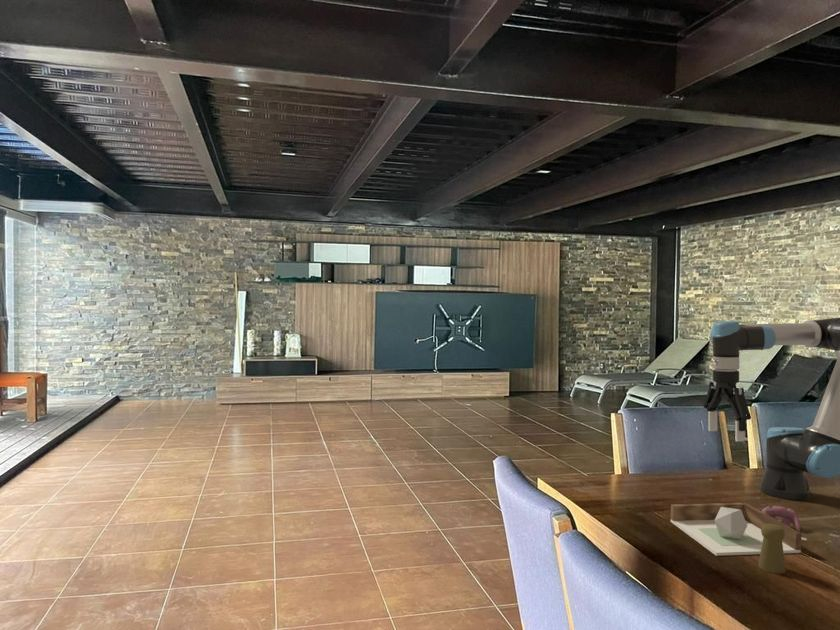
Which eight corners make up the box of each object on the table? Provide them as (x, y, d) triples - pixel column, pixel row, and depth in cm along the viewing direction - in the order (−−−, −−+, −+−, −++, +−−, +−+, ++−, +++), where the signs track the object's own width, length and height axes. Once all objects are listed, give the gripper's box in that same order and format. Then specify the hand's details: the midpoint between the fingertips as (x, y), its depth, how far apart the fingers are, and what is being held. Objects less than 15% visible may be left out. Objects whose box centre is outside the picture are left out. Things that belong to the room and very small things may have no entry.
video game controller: (797, 533, 181) (795, 508, 183) (802, 531, 177) (799, 506, 179) (760, 529, 184) (758, 505, 186) (764, 527, 180) (762, 503, 182)
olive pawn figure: (753, 563, 156) (754, 521, 156) (775, 562, 157) (776, 520, 157) (768, 574, 150) (769, 530, 150) (791, 573, 151) (792, 529, 151)
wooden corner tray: (744, 519, 187) (745, 502, 187) (800, 552, 163) (801, 533, 163) (670, 521, 185) (670, 504, 184) (716, 555, 161) (716, 536, 161)
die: (748, 536, 173) (729, 504, 177) (759, 532, 165) (739, 498, 170) (722, 547, 172) (703, 514, 177) (732, 543, 165) (712, 509, 169)
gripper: (692, 365, 204) (692, 427, 205) (741, 375, 180) (741, 446, 181) (712, 364, 205) (712, 426, 206) (764, 374, 181) (764, 444, 182)
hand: (726, 435), depth 193 cm, fingers open, 13 cm apart
